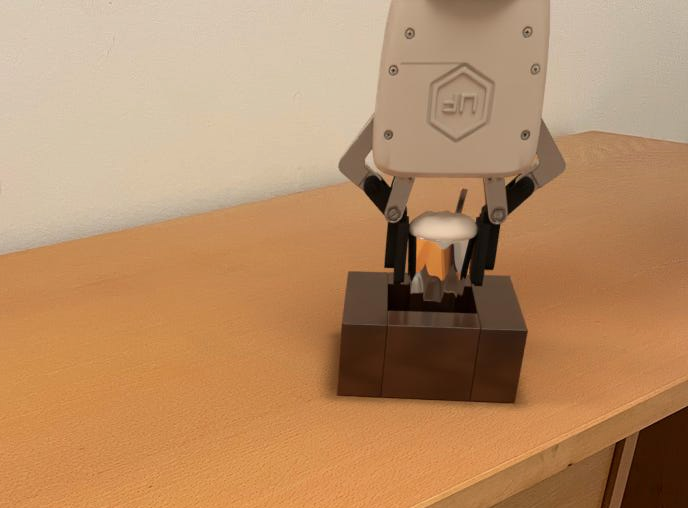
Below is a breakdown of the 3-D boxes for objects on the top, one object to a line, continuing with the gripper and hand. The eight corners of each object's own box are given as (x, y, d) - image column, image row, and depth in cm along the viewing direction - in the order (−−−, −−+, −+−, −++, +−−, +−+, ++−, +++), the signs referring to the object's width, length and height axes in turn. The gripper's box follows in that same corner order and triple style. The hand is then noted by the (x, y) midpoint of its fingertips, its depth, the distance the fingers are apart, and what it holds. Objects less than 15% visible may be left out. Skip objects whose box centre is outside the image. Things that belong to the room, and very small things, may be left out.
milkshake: (473, 339, 71) (497, 192, 65) (444, 362, 67) (466, 209, 62) (416, 328, 73) (434, 184, 67) (384, 349, 70) (400, 200, 64)
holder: (499, 341, 75) (510, 275, 72) (515, 403, 66) (528, 329, 63) (343, 335, 77) (348, 270, 74) (336, 395, 67) (341, 323, 64)
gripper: (324, -34, 55) (311, 293, 66) (638, -41, 53) (570, 299, 63) (330, -40, 61) (317, 262, 72) (613, -46, 58) (555, 266, 69)
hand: (437, 276), depth 67 cm, fingers closed on milkshake, 4 cm apart
